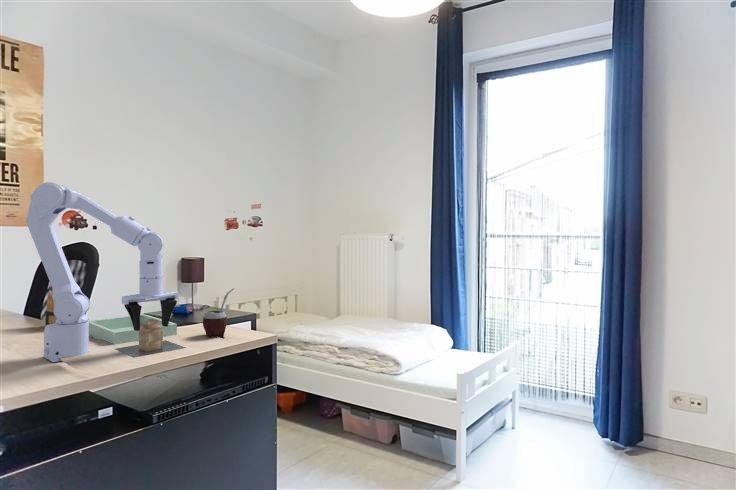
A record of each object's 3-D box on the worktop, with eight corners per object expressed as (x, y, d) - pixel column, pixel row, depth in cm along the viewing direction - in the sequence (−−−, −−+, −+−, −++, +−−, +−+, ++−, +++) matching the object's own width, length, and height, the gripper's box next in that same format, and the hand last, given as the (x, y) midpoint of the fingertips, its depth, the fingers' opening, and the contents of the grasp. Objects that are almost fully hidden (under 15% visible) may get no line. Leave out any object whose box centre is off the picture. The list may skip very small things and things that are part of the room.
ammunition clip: (45, 326, 157) (45, 290, 156) (51, 325, 158) (51, 289, 158) (62, 330, 151) (62, 292, 151) (69, 329, 153) (69, 292, 153)
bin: (114, 347, 132) (114, 332, 132) (85, 334, 147) (85, 321, 147) (176, 336, 146) (176, 323, 146) (144, 326, 160) (144, 314, 160)
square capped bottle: (146, 351, 126) (146, 322, 125) (138, 348, 129) (139, 320, 128) (162, 348, 129) (162, 320, 129) (155, 345, 132) (155, 318, 132)
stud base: (133, 360, 120) (133, 341, 119) (114, 351, 127) (114, 333, 127) (186, 350, 130) (186, 332, 130) (165, 343, 138) (165, 326, 138)
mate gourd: (198, 339, 143) (198, 289, 143) (212, 334, 151) (213, 286, 150) (220, 341, 141) (220, 291, 141) (233, 335, 149) (234, 288, 148)
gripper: (129, 281, 120) (129, 334, 121) (184, 277, 131) (184, 326, 132) (118, 278, 125) (118, 330, 125) (171, 275, 136) (171, 322, 136)
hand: (151, 328), depth 129 cm, fingers open, 7 cm apart
